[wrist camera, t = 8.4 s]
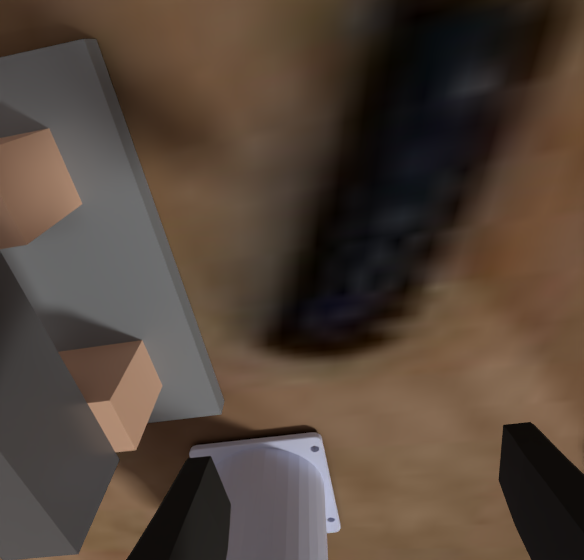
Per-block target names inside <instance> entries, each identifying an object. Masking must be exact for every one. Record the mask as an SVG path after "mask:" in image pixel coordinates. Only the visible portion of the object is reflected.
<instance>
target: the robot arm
mask: <svg viewBox="0 0 584 560" xmlns="http://www.w3.org/2000/svg"><path fill="white" fill-rule="evenodd" d="M189 456H190V458H188V459H187V460H186V461H185V463H184V465H183V467H182V468H181V470H180V472H179V474H178V475H177V477H176V479H175V481H174V482H173V484H172V486H171V488H170V489H169V491H168V493H167V495H166V496H165V498H164V500H163V501H162V503H161V505H160V506H159V508H158V510H157V511H156V513H155V515H154V517H153V518H152V520H151V521H150V523H149V525H148V526H147V528H146V529H145V531H144V533H143V534H142V536H141V537H140V539H139V541H138V542H137V544H136V546H135V547H134V549H133V550H132V552H131V553H130V555H129V556H128V558H127V559H126V560H328V549H327V533H334V532H337V531H339V530H340V520H339V515H338V511H337V506H336V501H335V497H334V492H333V488H332V483H331V478H330V474H329V469H328V464H327V460H326V455H325V450H324V446H323V441H322V437H321V435H320V434H318V433H315V432H310V433H301V434H292V435H283V436H274V437H265V438H256V439H247V440H238V441H229V442H220V443H211V444H202V445H195V446H192V447H191V449H190V452H189ZM499 482H500V485H501V488H502V491H503V493H504V496H505V499H506V502H507V505H508V507H509V510H510V513H511V516H512V518H513V521H514V524H515V526H516V528H517V530H518V533H519V535H520V537H521V539H522V541H523V543H524V545H525V547H526V549H527V552H528V554H529V556H530V558H531V560H584V474H583V473H582V472H581V471H580V470H579V469H578V468H577V467H576V466H575V465H574V464H572V463H571V462H570V461H569V460H568V459H567V458H566V457H565V456H564V455H563V454H562V453H561V452H560V451H559V450H558V449H557V448H556V447H555V446H554V445H553V444H552V443H551V442H550V441H549V439H548V438H547V437H546V436H545V435H544V434H543V433H542V432H541V431H540V430H539V429H538V428H537V427H536V426H535V425H534V424H532V423H531V422H527V423H518V424H508V425H503V435H502V447H501V459H500V471H499Z"/></svg>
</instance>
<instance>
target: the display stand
mask: <svg viewBox="0 0 584 560" xmlns="http://www.w3.org/2000/svg"><path fill="white" fill-rule="evenodd" d="M0 251H1V253H2V255H3V257H4V258H5V260H6V262H7V264H8V265H9V267H10V269H11V271H12V272H13V274H14V276H15V278H16V279H17V281H18V283H19V285H20V286H21V288H22V290H23V292H24V293H25V295H26V297H27V299H28V300H29V302H30V304H31V306H32V307H33V309H34V311H35V313H36V314H37V316H38V318H39V320H40V321H41V323H42V325H43V327H44V328H45V330H46V332H47V334H48V335H49V337H50V339H51V341H52V342H53V344H54V346H55V348H56V349H57V351H58V353H59V355H60V356H61V358H62V360H63V362H64V363H65V365H66V367H67V369H68V370H69V372H70V374H71V376H72V377H73V379H74V381H75V383H76V384H77V386H78V388H79V390H80V391H81V393H82V395H83V397H84V398H85V400H86V402H87V404H88V405H89V407H90V409H91V411H92V412H93V414H94V416H95V418H96V419H97V421H98V423H99V425H100V426H101V428H102V430H103V432H104V433H105V435H106V437H107V439H108V440H109V442H110V444H111V446H112V447H113V449H114V451H115V452H124V451H133V450H136V449H137V447H138V445H139V442H140V440H141V437H142V435H143V432H144V430H145V427H146V425H147V423H153V422H161V421H170V420H178V419H187V418H195V417H204V416H212V415H221V414H222V409H223V405H224V399H223V396H222V393H221V390H220V387H219V384H218V382H217V379H216V376H215V373H214V370H213V367H212V365H211V362H210V359H209V356H208V353H207V351H206V348H205V345H204V342H203V339H202V336H201V334H200V331H199V328H198V325H197V322H196V319H195V317H194V314H193V311H192V308H191V305H190V303H189V300H188V297H187V294H186V291H185V288H184V286H183V283H182V280H181V277H180V274H179V271H178V269H177V266H176V263H175V260H174V257H173V255H172V252H171V249H170V246H169V243H168V240H167V238H166V235H165V232H164V229H163V226H162V223H161V221H160V218H159V215H158V212H157V209H156V207H155V204H154V201H153V198H152V195H151V192H150V190H149V187H148V184H147V181H146V178H145V175H144V173H143V170H142V167H141V164H140V161H139V159H138V156H137V153H136V150H135V147H134V144H133V142H132V139H131V136H130V133H129V130H128V127H127V125H126V122H125V119H124V116H123V113H122V111H121V108H120V105H119V102H118V99H117V96H116V94H115V91H114V88H113V85H112V82H111V79H110V77H109V74H108V71H107V68H106V65H105V63H104V60H103V57H102V54H101V51H100V48H99V46H98V43H97V40H96V39H81V40H76V41H72V42H67V43H63V44H58V45H54V46H49V47H45V48H40V49H36V50H31V51H27V52H22V53H18V54H13V55H9V56H4V57H0Z"/></svg>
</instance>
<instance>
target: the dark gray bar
mask: <svg viewBox="0 0 584 560" xmlns="http://www.w3.org/2000/svg"><path fill="white" fill-rule="evenodd" d="M118 462H119V458H118V456H117V454H116V453H115V451H114V449H113V447H112V446H111V444H110V442H109V440H108V439H107V437H106V435H105V433H104V432H103V430H102V428H101V426H100V425H99V423H98V421H97V419H96V418H95V416H94V414H93V412H92V411H91V409H90V407H89V405H88V404H87V402H86V400H85V398H84V397H83V395H82V393H81V391H80V390H79V388H78V386H77V384H76V383H75V381H74V379H73V377H72V376H71V374H70V372H69V370H68V369H67V367H66V365H65V363H64V362H63V360H62V358H61V356H60V355H59V353H58V351H57V349H56V348H55V346H54V344H53V342H52V341H51V339H50V337H49V335H48V334H47V332H46V330H45V328H44V327H43V325H42V323H41V321H40V320H39V318H38V316H37V314H36V313H35V311H34V309H33V307H32V306H31V304H30V302H29V300H28V299H27V297H26V295H25V293H24V292H23V290H22V288H21V286H20V285H19V283H18V281H17V279H16V278H15V276H14V274H13V272H12V271H11V269H10V267H9V265H8V264H7V262H6V260H5V258H4V257H3V255H2V253H1V251H0V558H1V559H2V560H16V559H27V558H39V557H50V556H62V555H74V554H79V551H80V549H81V547H82V544H83V542H84V540H85V538H86V535H87V533H88V531H89V528H90V526H91V524H92V522H93V519H94V517H95V515H96V512H97V510H98V508H99V506H100V503H101V501H102V499H103V497H104V494H105V492H106V490H107V487H108V485H109V483H110V481H111V478H112V476H113V474H114V471H115V469H116V467H117V465H118Z"/></svg>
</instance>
